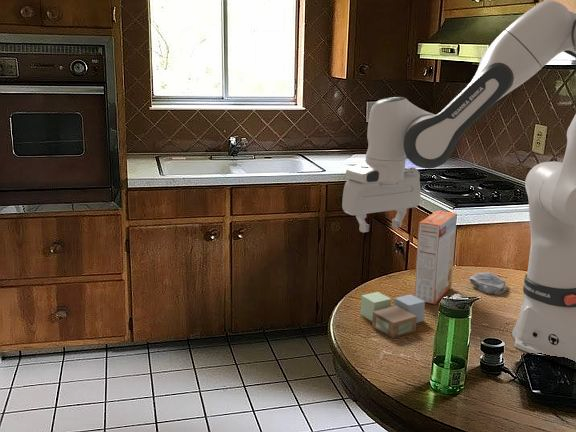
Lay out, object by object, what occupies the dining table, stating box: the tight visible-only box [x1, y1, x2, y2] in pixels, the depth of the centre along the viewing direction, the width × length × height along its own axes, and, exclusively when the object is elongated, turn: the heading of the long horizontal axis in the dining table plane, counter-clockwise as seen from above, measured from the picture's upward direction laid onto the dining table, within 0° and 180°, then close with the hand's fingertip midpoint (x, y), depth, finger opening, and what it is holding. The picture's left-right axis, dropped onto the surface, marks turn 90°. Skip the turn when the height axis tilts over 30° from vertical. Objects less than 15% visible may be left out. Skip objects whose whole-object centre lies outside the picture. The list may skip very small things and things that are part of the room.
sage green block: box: [359, 291, 392, 322], centre depth 155 cm, size 5×5×5 cm
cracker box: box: [413, 210, 458, 305], centre depth 167 cm, size 14×6×21 cm, turn 149°
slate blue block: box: [393, 294, 426, 324], centre depth 154 cm, size 5×5×5 cm
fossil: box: [468, 271, 508, 295], centre depth 175 cm, size 11×4×10 cm
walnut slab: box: [371, 305, 417, 339], centre depth 148 cm, size 7×7×4 cm
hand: (380, 229), depth 150 cm, fingers open, 8 cm apart
